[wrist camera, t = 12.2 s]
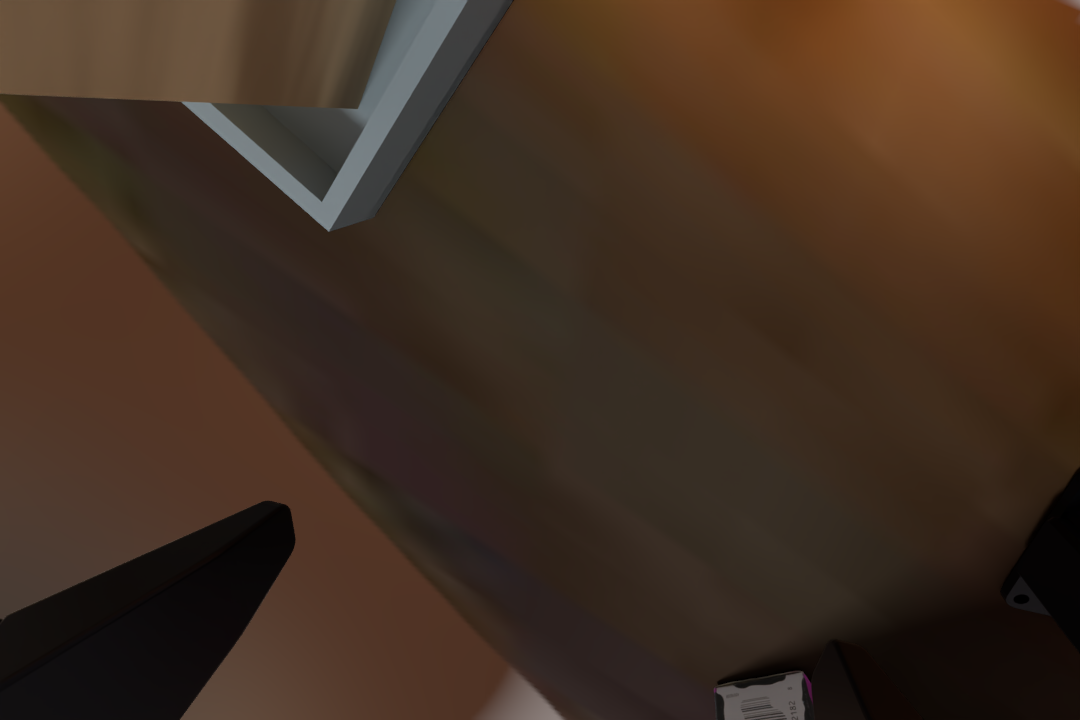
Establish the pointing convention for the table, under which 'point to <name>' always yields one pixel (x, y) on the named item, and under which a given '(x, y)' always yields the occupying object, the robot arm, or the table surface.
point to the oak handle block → (193, 50)
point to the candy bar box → (766, 698)
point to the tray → (364, 114)
